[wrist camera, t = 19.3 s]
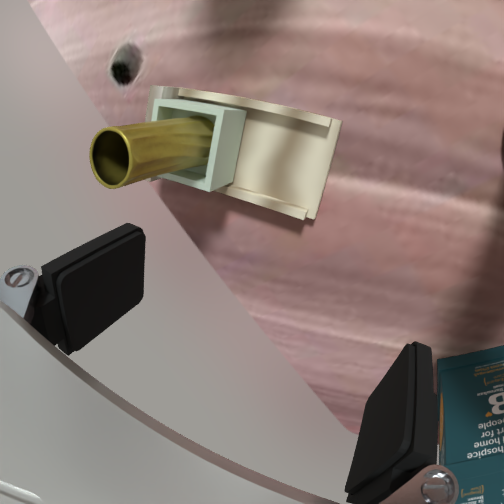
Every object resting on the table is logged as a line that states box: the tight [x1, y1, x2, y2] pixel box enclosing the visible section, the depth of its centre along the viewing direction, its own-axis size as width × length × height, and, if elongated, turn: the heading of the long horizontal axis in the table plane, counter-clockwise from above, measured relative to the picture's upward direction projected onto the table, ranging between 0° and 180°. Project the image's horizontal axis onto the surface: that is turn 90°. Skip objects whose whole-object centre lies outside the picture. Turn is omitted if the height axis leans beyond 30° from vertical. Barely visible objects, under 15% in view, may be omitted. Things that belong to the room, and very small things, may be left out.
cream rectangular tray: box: [145, 85, 342, 220], centre depth 36 cm, size 22×12×6 cm, turn 77°
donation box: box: [437, 345, 504, 504], centre depth 26 cm, size 16×16×28 cm
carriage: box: [151, 99, 247, 192], centre depth 36 cm, size 9×9×6 cm
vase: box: [90, 115, 215, 189], centre depth 30 cm, size 6×6×14 cm
